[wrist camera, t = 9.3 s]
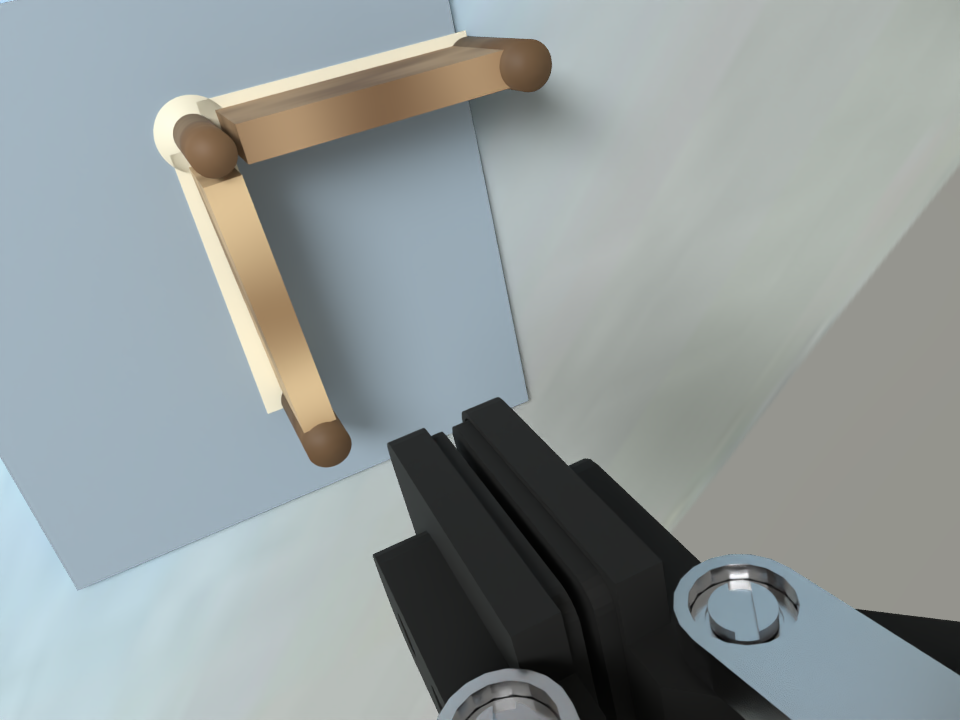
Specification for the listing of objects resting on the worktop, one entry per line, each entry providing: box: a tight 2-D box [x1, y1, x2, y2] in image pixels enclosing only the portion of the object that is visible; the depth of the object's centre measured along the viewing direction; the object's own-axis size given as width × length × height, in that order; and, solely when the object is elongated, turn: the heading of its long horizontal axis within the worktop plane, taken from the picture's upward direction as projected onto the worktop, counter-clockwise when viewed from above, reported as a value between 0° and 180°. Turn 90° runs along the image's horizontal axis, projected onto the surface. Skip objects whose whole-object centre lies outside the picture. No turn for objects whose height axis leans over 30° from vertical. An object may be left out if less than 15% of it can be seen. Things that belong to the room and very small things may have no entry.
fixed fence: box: [173, 36, 552, 179], centre depth 27 cm, size 12×2×5 cm, turn 102°
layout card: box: [0, 0, 529, 590], centre depth 30 cm, size 20×20×1 cm
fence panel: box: [189, 167, 352, 468], centre depth 28 cm, size 10×2×4 cm, turn 15°
